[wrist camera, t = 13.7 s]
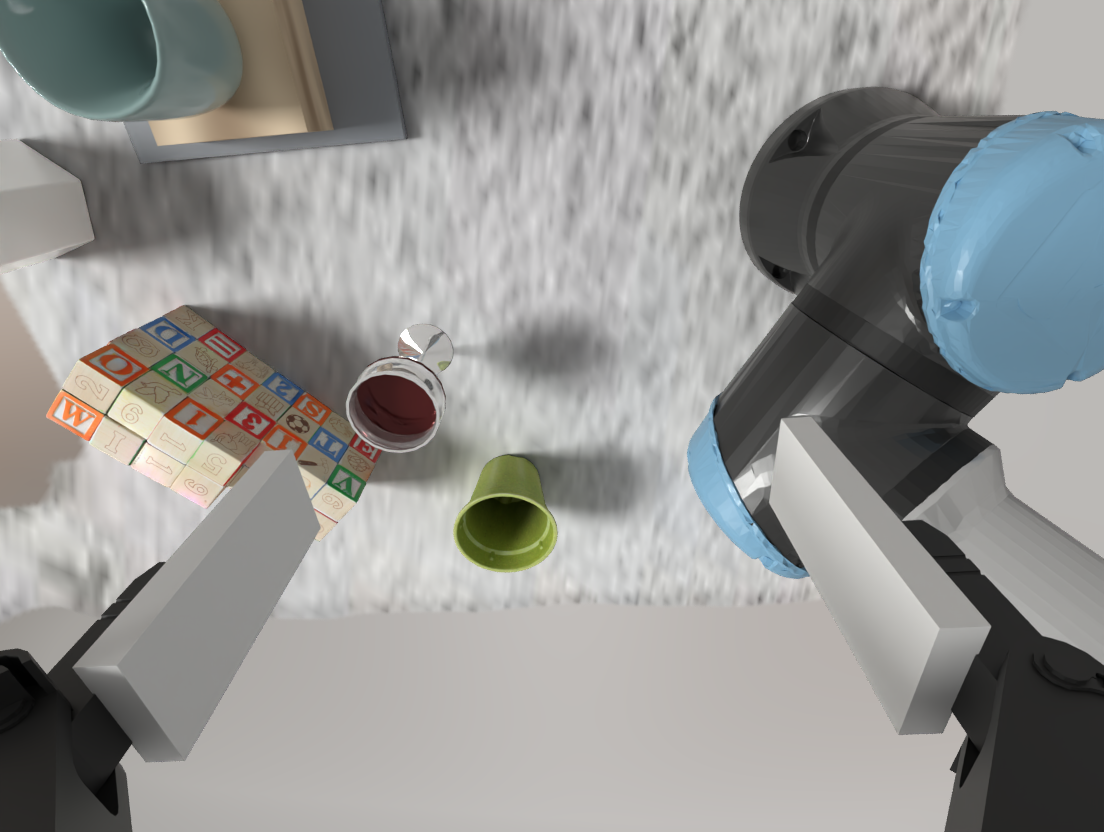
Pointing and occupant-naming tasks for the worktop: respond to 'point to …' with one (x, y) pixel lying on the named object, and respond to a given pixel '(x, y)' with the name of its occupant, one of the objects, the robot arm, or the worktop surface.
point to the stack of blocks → (208, 415)
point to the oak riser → (263, 80)
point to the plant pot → (506, 518)
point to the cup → (124, 56)
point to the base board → (348, 80)
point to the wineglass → (402, 392)
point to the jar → (38, 208)
